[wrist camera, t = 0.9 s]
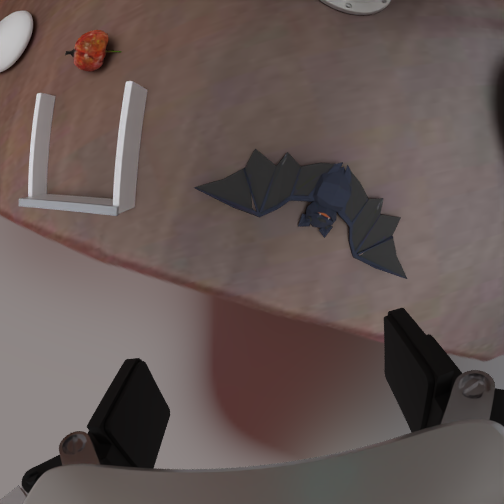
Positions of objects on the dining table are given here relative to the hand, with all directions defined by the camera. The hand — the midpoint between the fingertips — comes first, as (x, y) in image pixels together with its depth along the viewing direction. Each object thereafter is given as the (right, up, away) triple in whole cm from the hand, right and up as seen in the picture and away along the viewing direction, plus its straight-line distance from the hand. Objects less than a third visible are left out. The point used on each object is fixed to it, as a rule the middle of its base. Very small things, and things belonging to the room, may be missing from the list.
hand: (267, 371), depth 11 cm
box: (-22, +19, +24) cm, 38 cm away
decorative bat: (+8, +11, +26) cm, 29 cm away
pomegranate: (-20, +31, +21) cm, 42 cm away
